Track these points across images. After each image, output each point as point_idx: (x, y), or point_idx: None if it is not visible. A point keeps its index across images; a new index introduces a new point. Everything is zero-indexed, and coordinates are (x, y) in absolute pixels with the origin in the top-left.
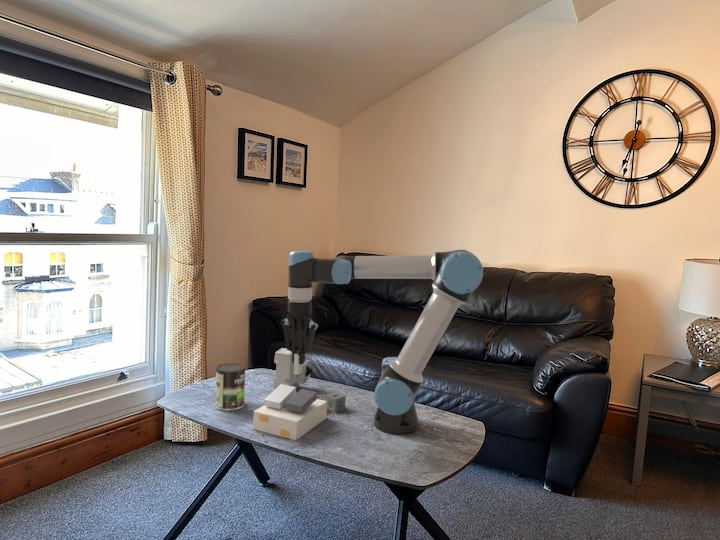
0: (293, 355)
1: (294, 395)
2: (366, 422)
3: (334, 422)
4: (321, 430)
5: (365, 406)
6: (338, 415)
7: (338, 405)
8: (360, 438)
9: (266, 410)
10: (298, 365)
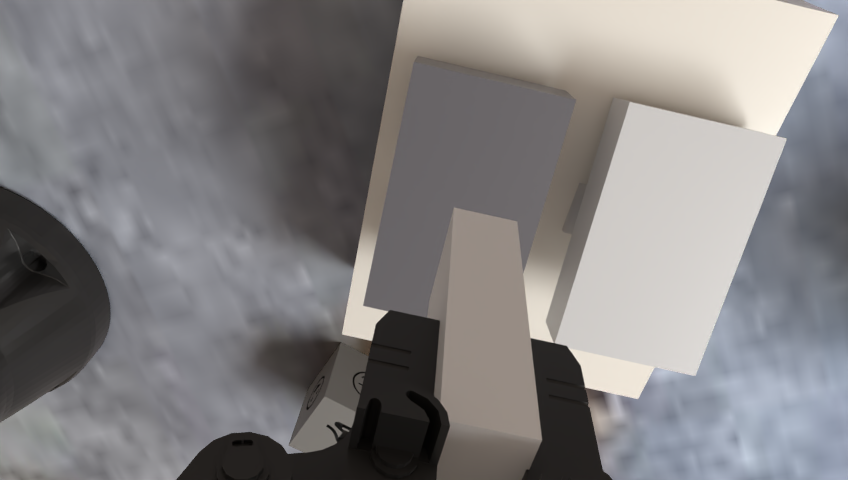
0: (567, 441)
1: (531, 230)
2: (140, 272)
3: (297, 230)
4: (327, 108)
5: (225, 435)
6: (310, 315)
7: (322, 380)
8: (75, 70)
9: (727, 64)
10: (445, 288)
